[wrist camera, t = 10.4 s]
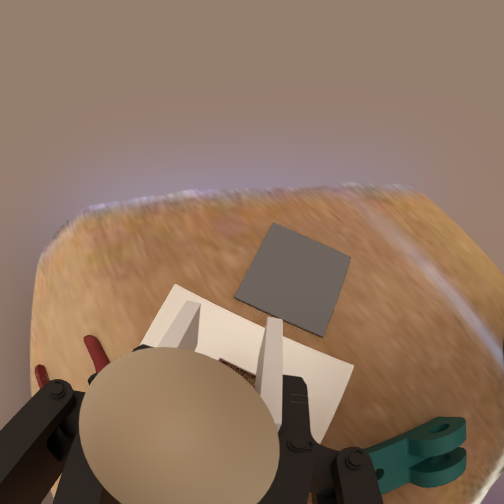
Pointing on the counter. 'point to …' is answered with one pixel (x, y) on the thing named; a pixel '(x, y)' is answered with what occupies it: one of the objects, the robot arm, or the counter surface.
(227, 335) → the hole block
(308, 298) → the mat
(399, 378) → the counter surface
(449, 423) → the bracket
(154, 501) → the peg
